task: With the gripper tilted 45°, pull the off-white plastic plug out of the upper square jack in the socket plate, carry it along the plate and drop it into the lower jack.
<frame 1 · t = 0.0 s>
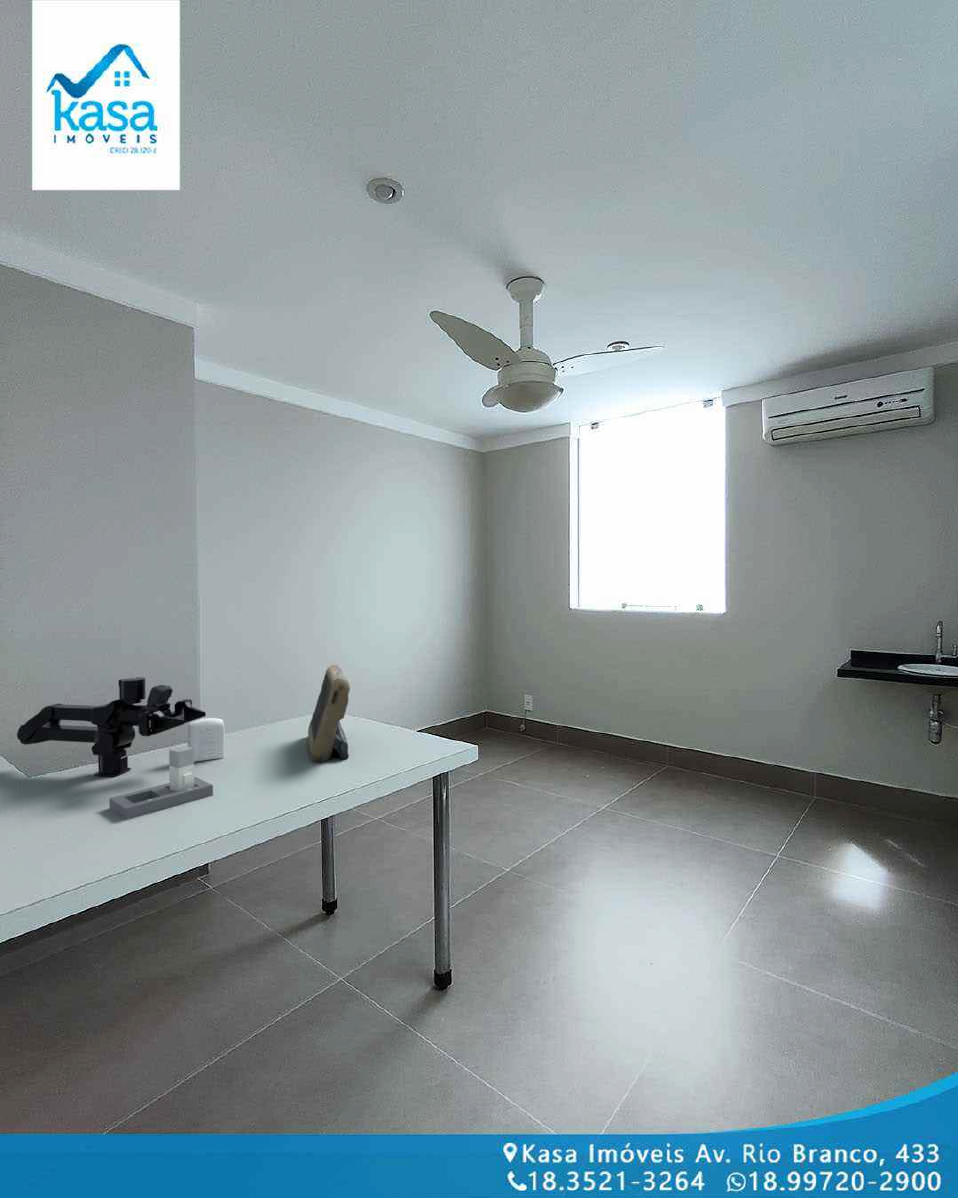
hand: (195, 718, 160), 17 cm above the table, tool horizontal, fingers open, 9 cm apart
socket plate: (162, 801, 144), on the table
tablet: (327, 748, 191), on the table
plug: (182, 796, 148), resting in socket plate
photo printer: (206, 759, 178), on the table
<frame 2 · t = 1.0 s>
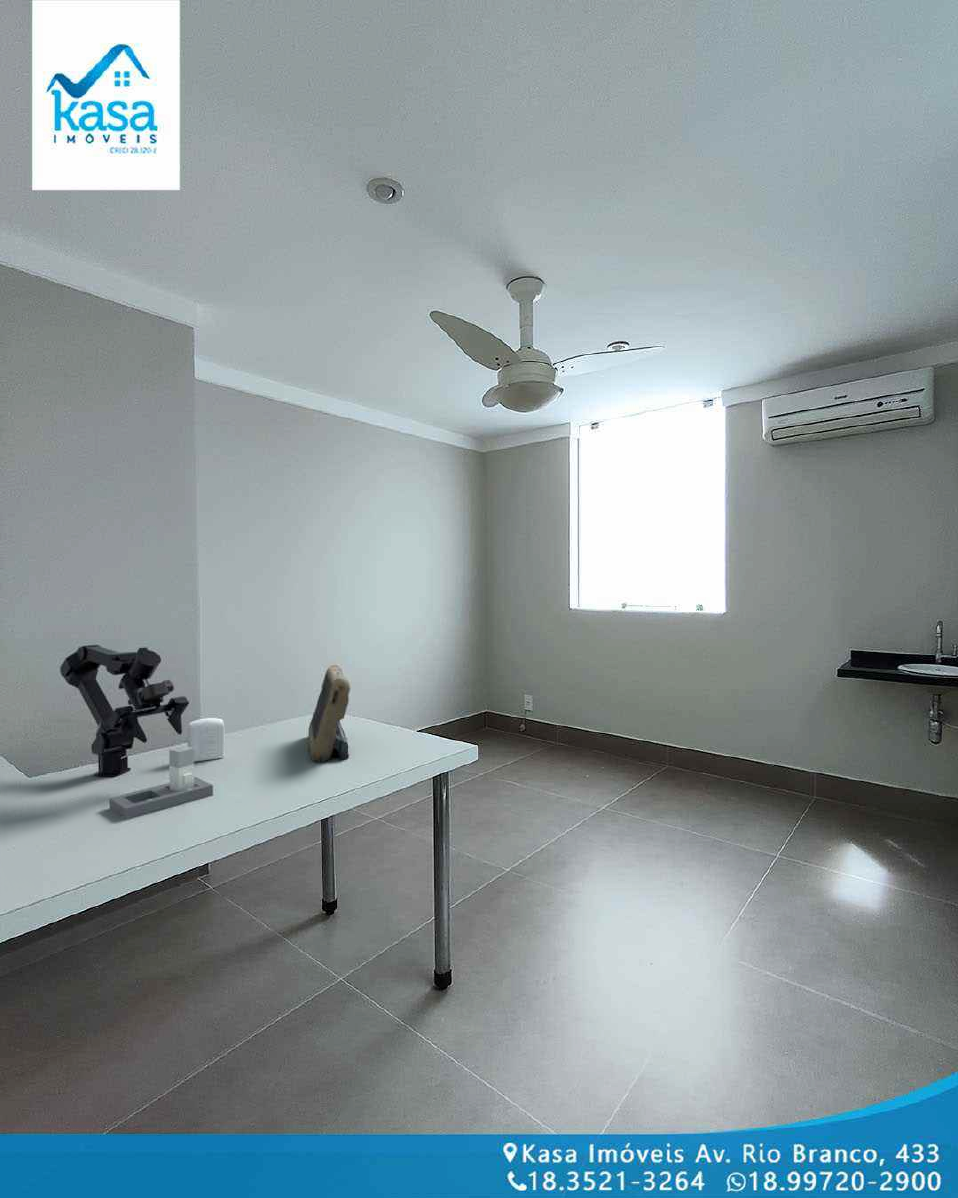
hand: (163, 737, 151), 14 cm above the table, tool tilted 45°, fingers open, 9 cm apart
nothing on the table moved.
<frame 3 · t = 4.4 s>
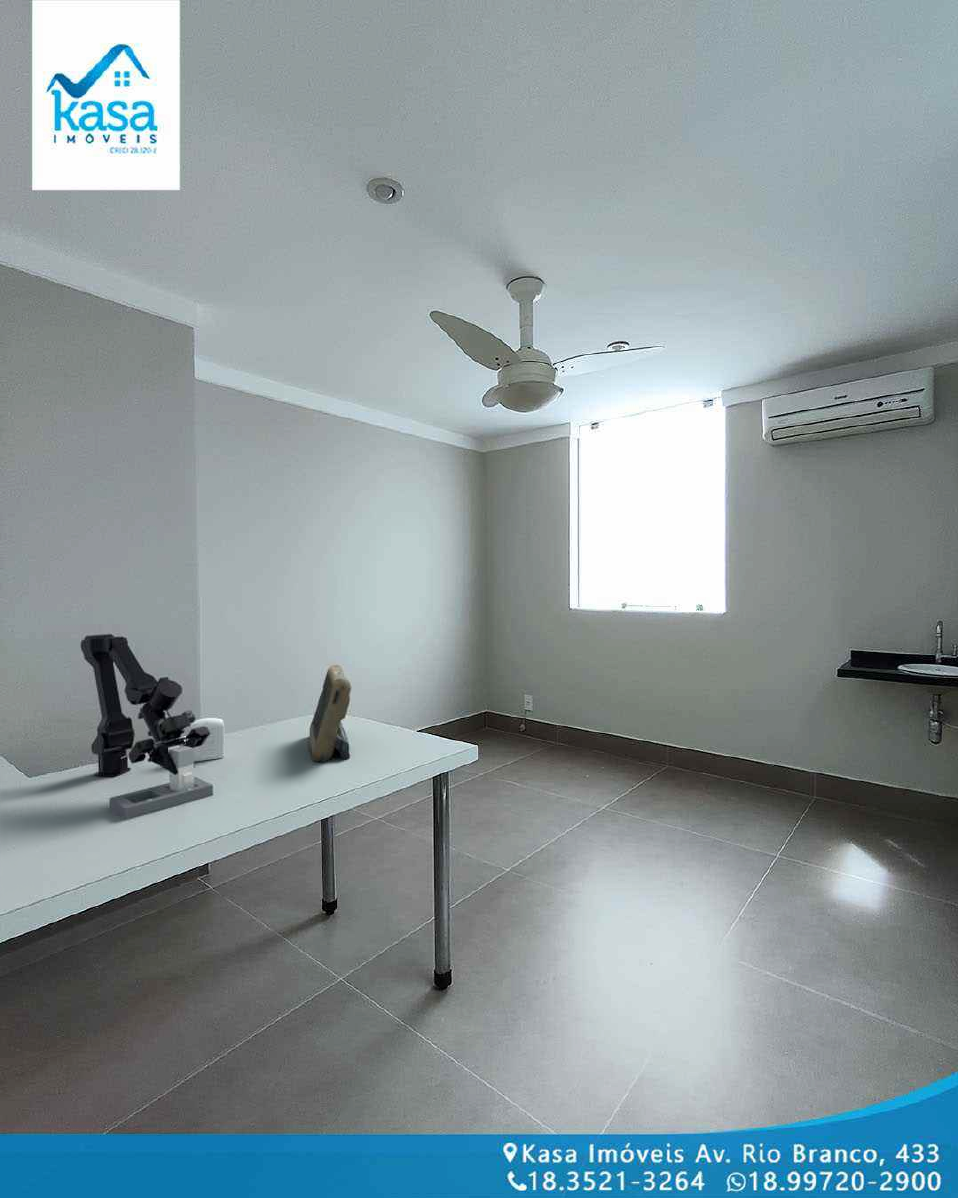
hand: (185, 771, 147), 7 cm above the table, tool tilted 45°, fingers closed on plug, 4 cm apart
plug: (182, 796, 148), resting in socket plate, touching gripper
everything else where it was.
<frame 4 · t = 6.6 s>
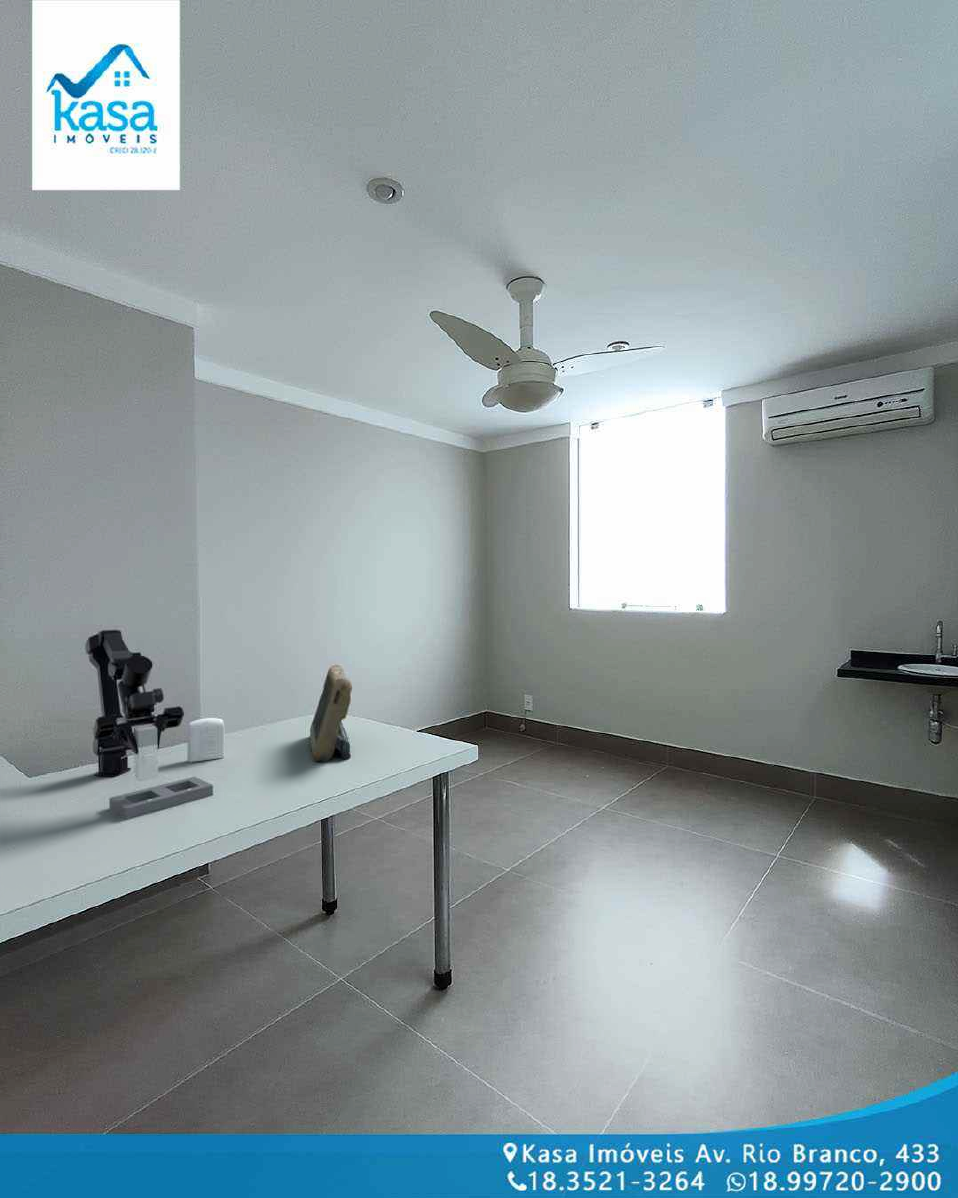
hand: (147, 751, 140), 14 cm above the table, tool tilted 45°, fingers closed on plug, 4 cm apart
plug: (146, 777, 141), point 7 cm above the table, touching gripper
everything else where it was.
when the fingers open (8 cm above the table, at t = 8.8 s): plug stays where it is, resting in socket plate.
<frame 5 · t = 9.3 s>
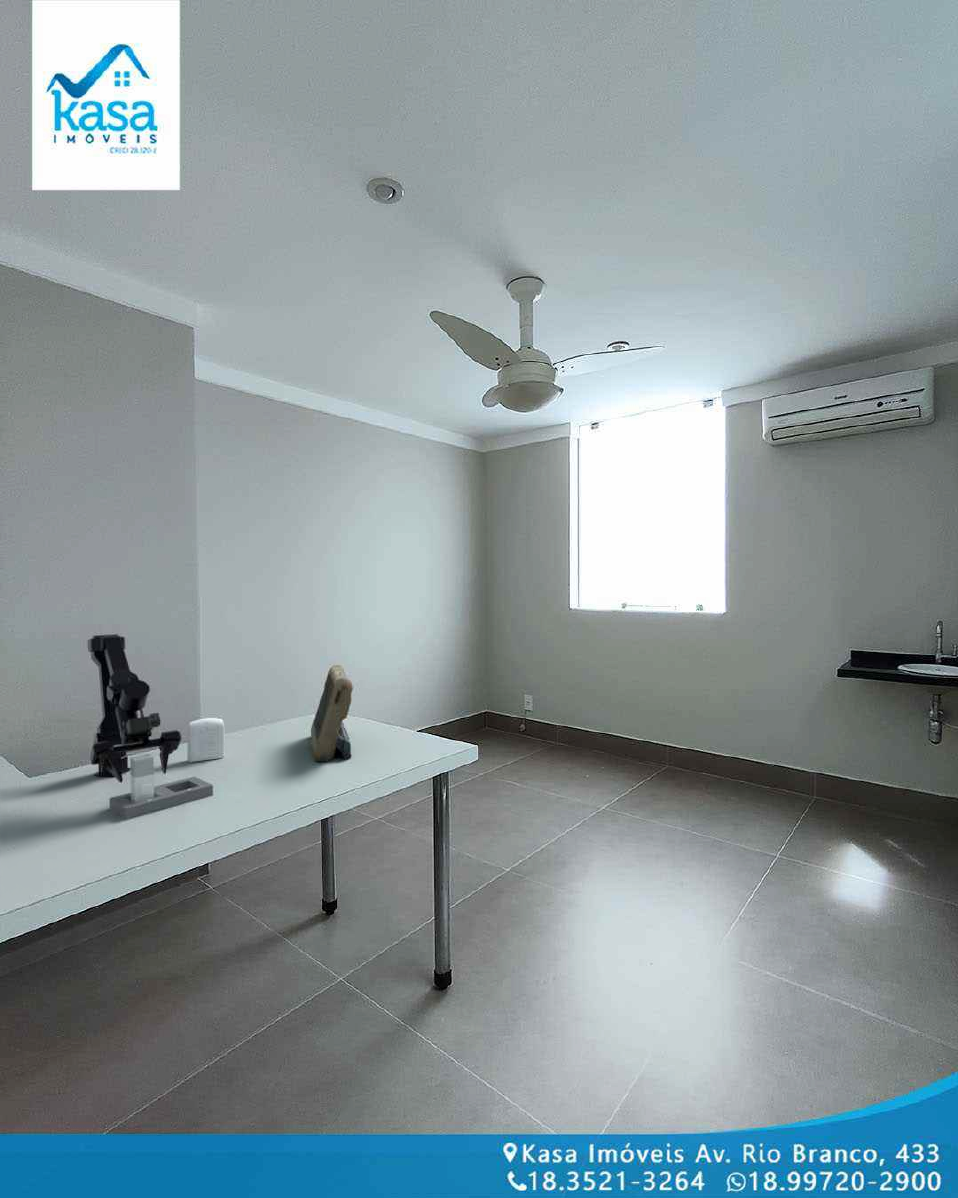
hand: (143, 777, 139), 8 cm above the table, tool tilted 45°, fingers open, 9 cm apart
plug: (142, 807, 141), resting in socket plate
everything else where it was.
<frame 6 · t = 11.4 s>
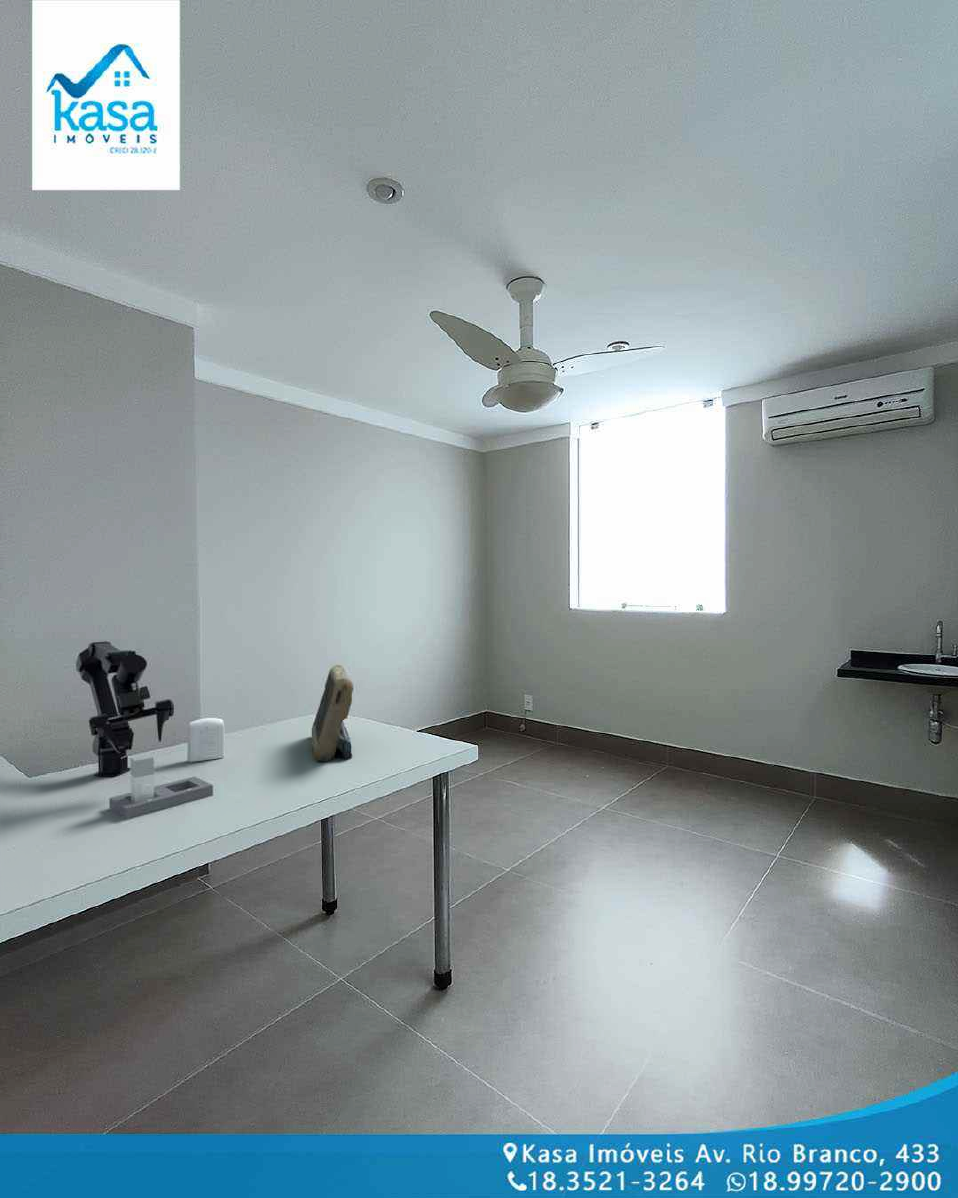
hand: (139, 746, 148), 12 cm above the table, tool tilted 40°, fingers open, 9 cm apart
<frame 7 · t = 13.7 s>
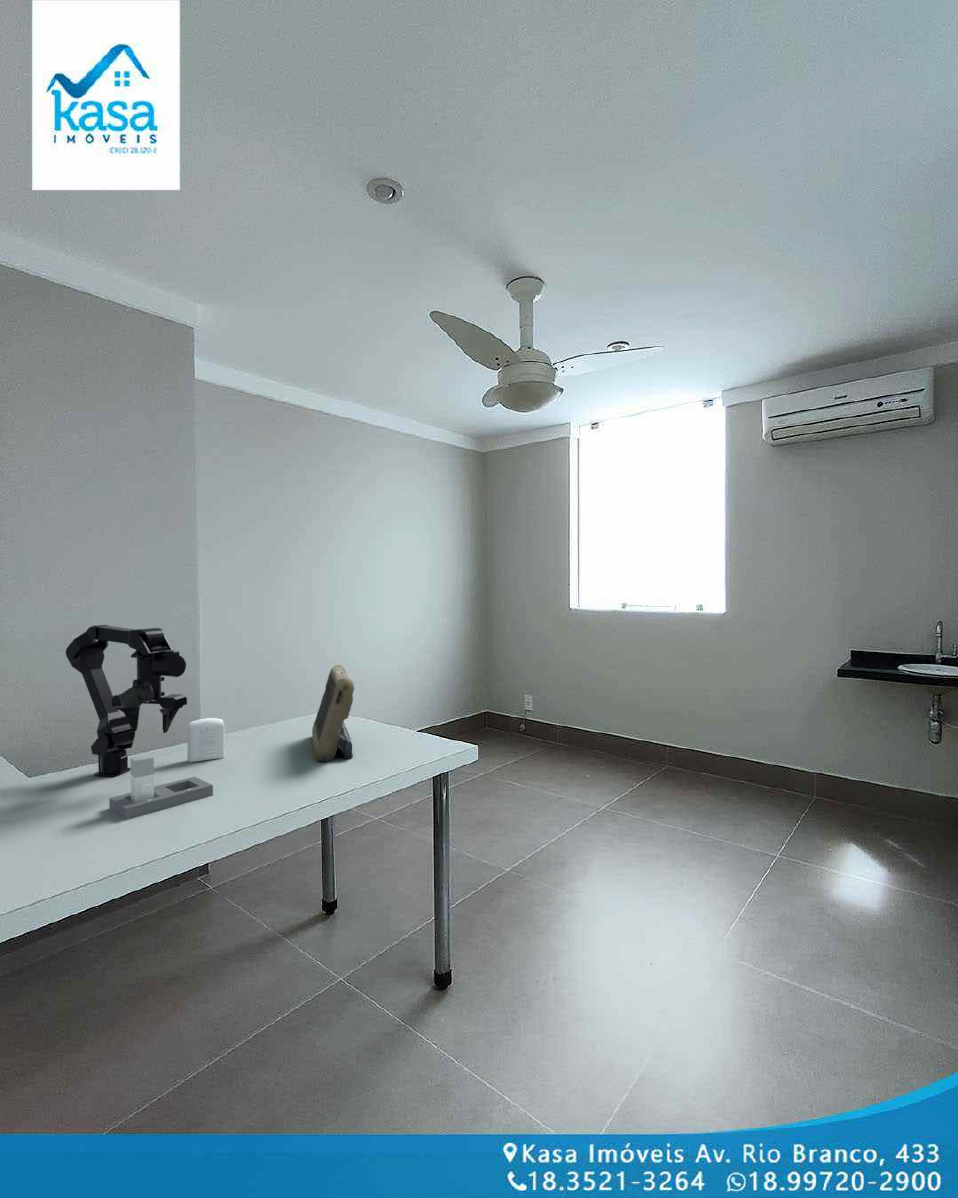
hand: (149, 732, 159), 13 cm above the table, tool pointing down, fingers open, 9 cm apart
at the end: plug 0.0 cm from the target spot, resting in socket plate; plug tilted 0°; the gripper is holding nothing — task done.
